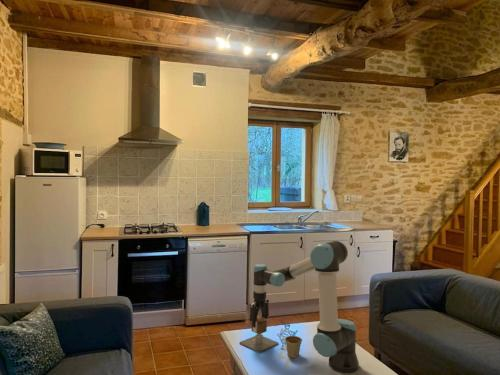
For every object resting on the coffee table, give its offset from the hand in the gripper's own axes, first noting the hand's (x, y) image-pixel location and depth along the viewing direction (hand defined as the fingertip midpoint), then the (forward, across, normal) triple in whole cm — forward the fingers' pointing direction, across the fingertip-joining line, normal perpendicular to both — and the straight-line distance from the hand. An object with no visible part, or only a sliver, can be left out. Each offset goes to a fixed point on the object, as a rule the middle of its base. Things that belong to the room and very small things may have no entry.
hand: (259, 330), depth 213 cm
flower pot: (+8, -4, +22) cm, 24 cm away
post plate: (+8, 0, 0) cm, 8 cm away
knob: (0, 0, 0) cm, 0 cm away
